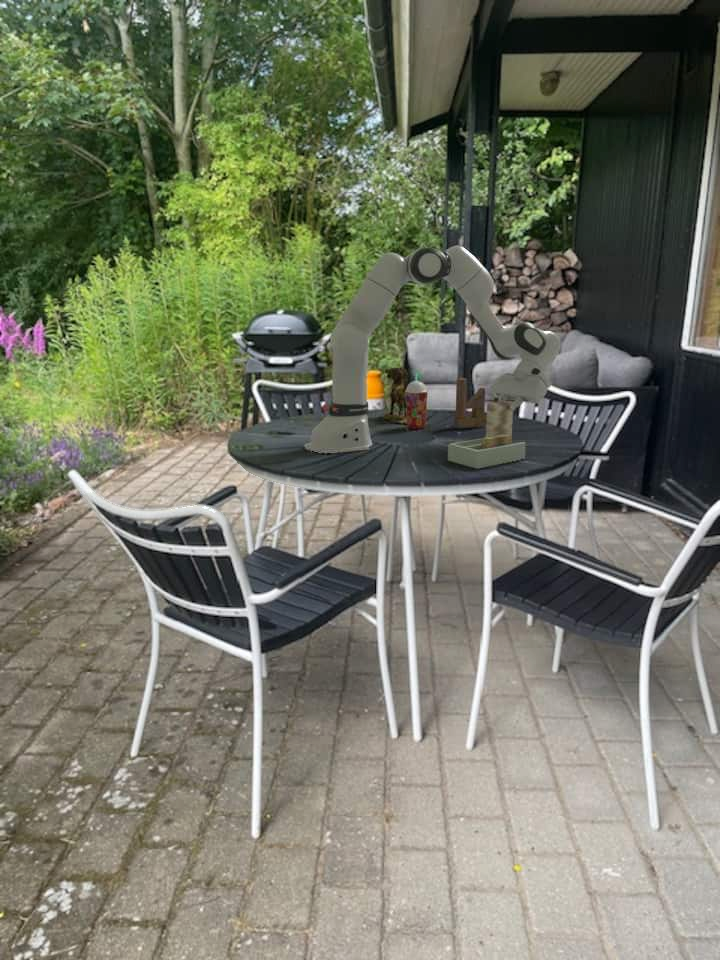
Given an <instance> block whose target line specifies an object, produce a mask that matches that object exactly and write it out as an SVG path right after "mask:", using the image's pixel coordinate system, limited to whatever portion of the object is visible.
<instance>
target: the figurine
mask: <svg viewBox="0 0 720 960" xmlns="http://www.w3.org/2000/svg"><path fill="white" fill-rule="evenodd" d="M384 373H385V374H386V378H387V379H391V380H392V385H391V390H390V399H391V401H390V402H391V403H390V405H391V407H390V411H389V412H386V413H385V414H381V415H379V418H380V419H383V418H384V420H385V421H390V420H391V421H390V422H391V423H392V422H393V423H392V424H394V423H395V424H394V425H401V424H402V426H408V425H407V416H406V410H405V412H404V414H403V408H404V404H405V405H406V399H405V390H406V388H407V386H408V380H409V373H408V371H407V369H406V368H405V369H403V367H393V368H392V367H391V368H390V369H389V368H387V369H384ZM395 403H396V404H397V405H398V407H399V410H398V413H397V412H394V405H395Z"/></svg>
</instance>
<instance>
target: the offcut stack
mask: <svg viewBox="0 0 720 960" xmlns="http://www.w3.org/2000/svg"><path fill="white" fill-rule="evenodd" d="M481 438H482V449H488V448H493V447H499V446H505V445H510V444H512V438H511V435H497V436H491V437H486V436H485V437H481Z"/></svg>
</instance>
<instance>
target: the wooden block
mask: <svg viewBox="0 0 720 960" xmlns="http://www.w3.org/2000/svg"><path fill="white" fill-rule="evenodd" d="M467 384H468V383H467V378H464V377H460V378H456V388H455V389H456V391H455V392H456V396H455V401H456V402H455V417H454V418H453V427H454V429H455V428H456V429H458V430H460V429H461V430H462V429H471V428H483V427H485V406H486V388H484V387H479V388H478V390H477V391H476V392H475V393H474V394H473V395H472V397H471V398H469V400H468V401H467V386H468V385H467ZM467 409H468V410H469V409H470V410H471V416H467Z"/></svg>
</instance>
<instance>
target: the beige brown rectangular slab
mask: <svg viewBox="0 0 720 960" xmlns="http://www.w3.org/2000/svg"><path fill="white" fill-rule="evenodd" d="M513 402H514V401H513V400H506V401H501V402H499V401H493V402H487V403H486V406H487V407H486V422H485V423H486V424H485V438H486V437H491V436H497V435H511V439H512V437H513V418H514V411H510V410H509V409H508V406H509V404H510V403H511V404H512V403H513Z"/></svg>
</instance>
